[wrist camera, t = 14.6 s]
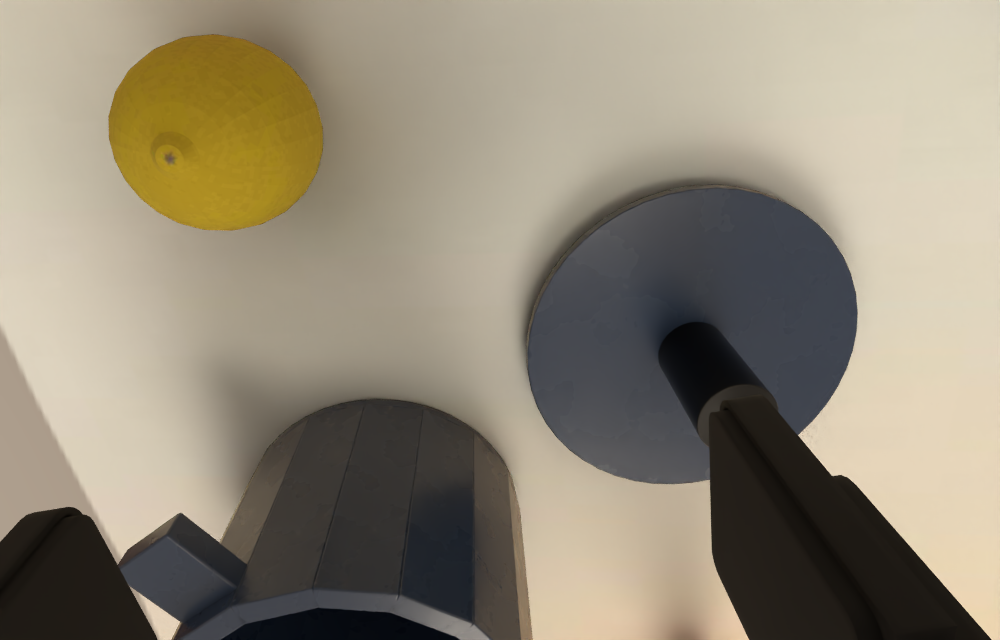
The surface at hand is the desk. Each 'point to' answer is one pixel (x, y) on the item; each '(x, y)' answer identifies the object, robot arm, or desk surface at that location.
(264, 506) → the pot
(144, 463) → the desk surface
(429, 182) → the desk surface
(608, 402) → the lid
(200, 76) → the lemon
